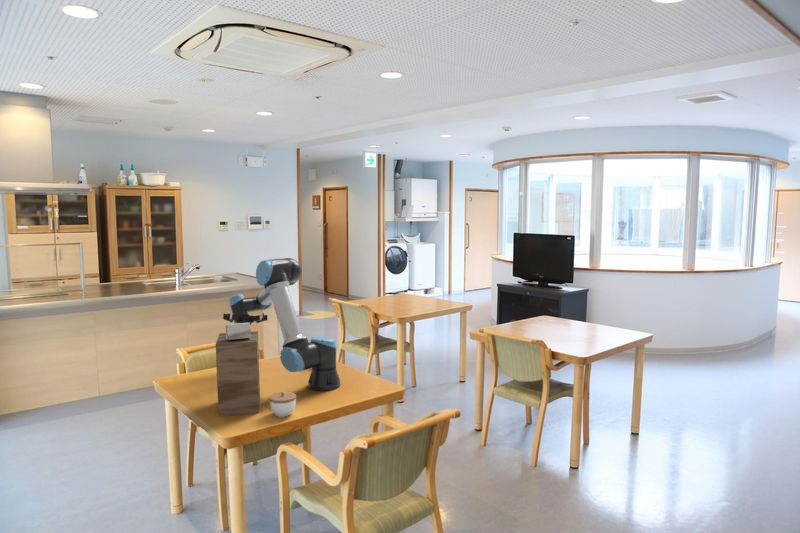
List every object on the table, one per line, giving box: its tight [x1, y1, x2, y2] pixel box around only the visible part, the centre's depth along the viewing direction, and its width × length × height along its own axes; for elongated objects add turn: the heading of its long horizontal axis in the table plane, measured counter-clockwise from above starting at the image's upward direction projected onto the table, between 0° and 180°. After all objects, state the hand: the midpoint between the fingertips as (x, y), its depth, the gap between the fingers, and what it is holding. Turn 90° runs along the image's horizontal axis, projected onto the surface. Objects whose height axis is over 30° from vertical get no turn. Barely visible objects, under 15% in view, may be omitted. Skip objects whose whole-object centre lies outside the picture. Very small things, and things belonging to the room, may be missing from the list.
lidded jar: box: [268, 391, 297, 418], centre depth 222 cm, size 11×11×9 cm
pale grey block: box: [225, 322, 252, 340], centre depth 235 cm, size 28×9×6 cm, turn 26°
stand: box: [215, 330, 261, 417], centre depth 230 cm, size 19×16×30 cm
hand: (246, 314), depth 252 cm, fingers open, 13 cm apart
